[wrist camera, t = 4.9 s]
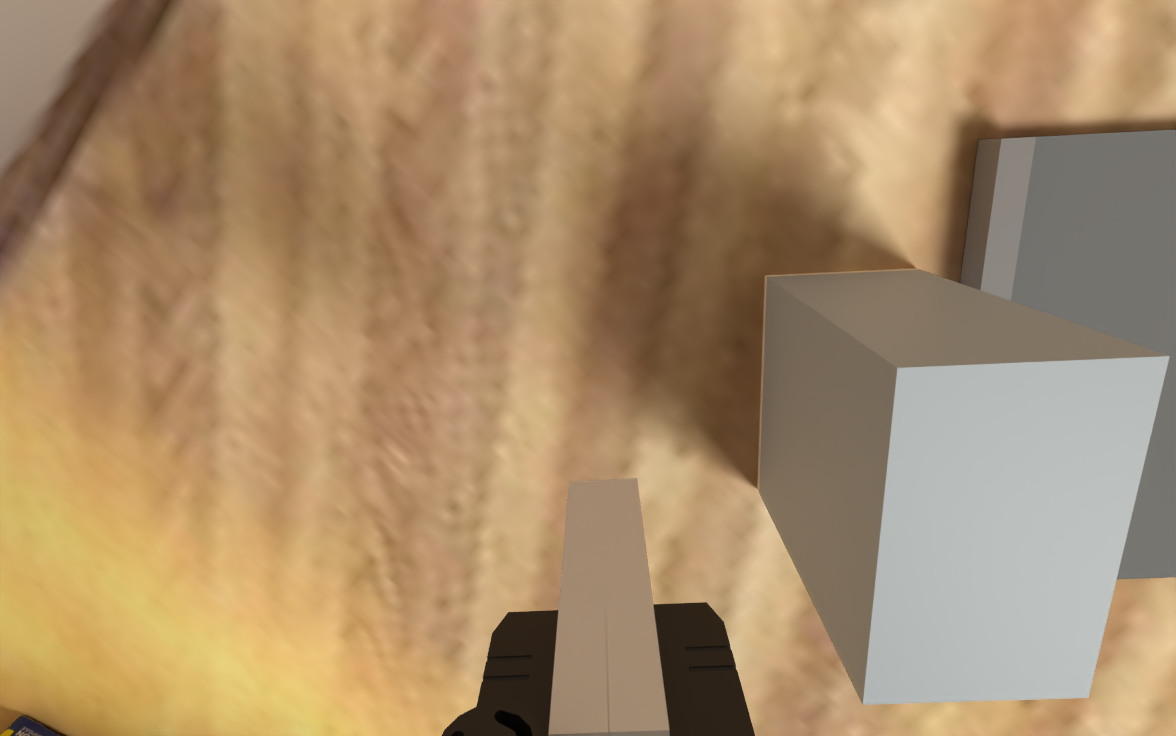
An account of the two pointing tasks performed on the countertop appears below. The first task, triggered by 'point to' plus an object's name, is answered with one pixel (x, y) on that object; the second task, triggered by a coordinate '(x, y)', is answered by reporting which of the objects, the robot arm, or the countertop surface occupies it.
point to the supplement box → (27, 728)
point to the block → (950, 479)
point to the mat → (1092, 272)
